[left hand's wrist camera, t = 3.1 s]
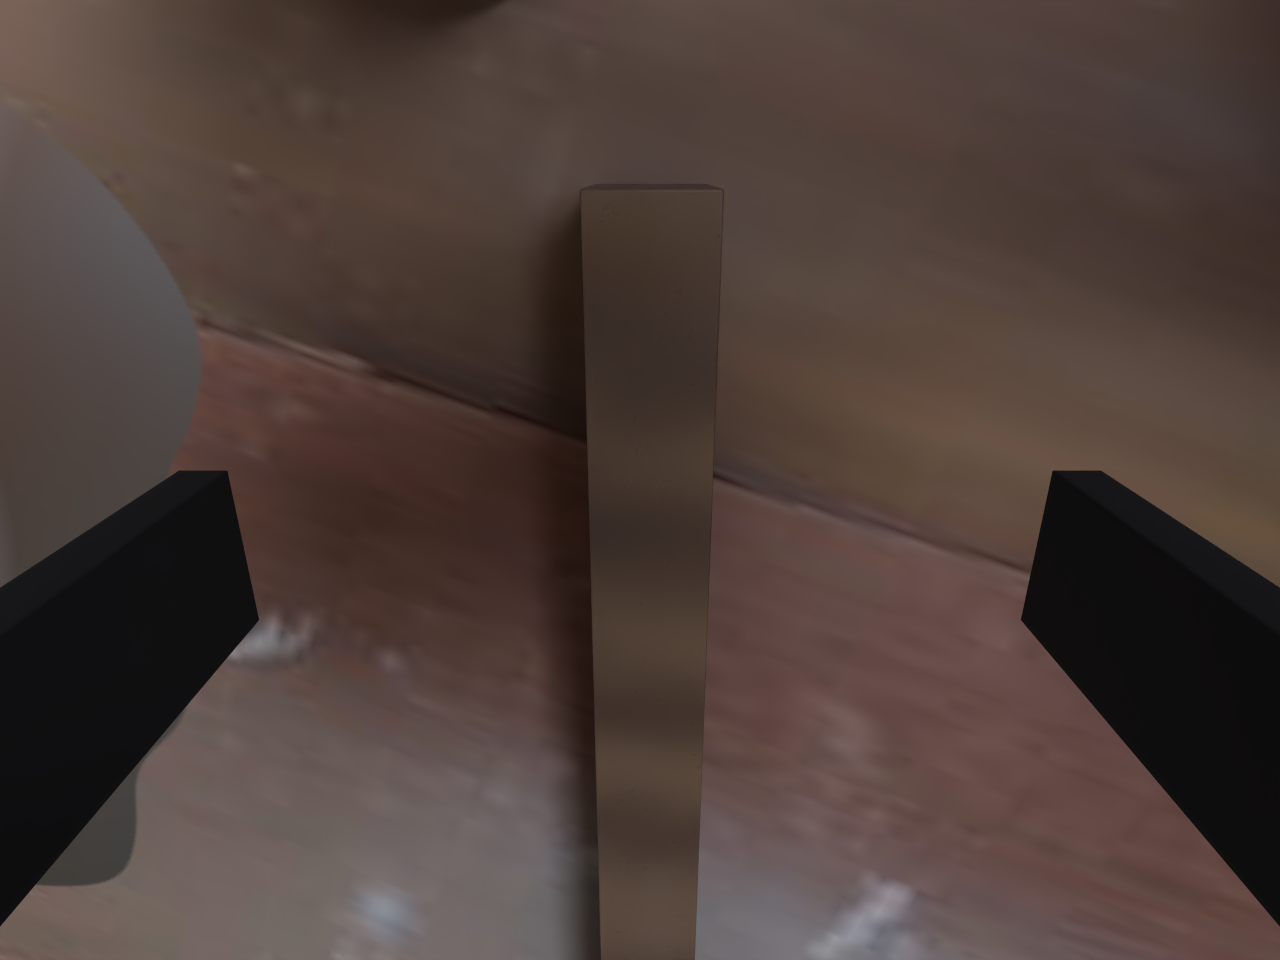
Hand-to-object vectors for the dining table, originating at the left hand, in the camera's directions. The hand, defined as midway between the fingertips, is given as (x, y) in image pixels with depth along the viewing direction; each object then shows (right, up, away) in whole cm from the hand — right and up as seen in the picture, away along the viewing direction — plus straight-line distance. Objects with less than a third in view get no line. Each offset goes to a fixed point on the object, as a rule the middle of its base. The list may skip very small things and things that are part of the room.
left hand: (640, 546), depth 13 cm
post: (0, -23, +36) cm, 43 cm away
